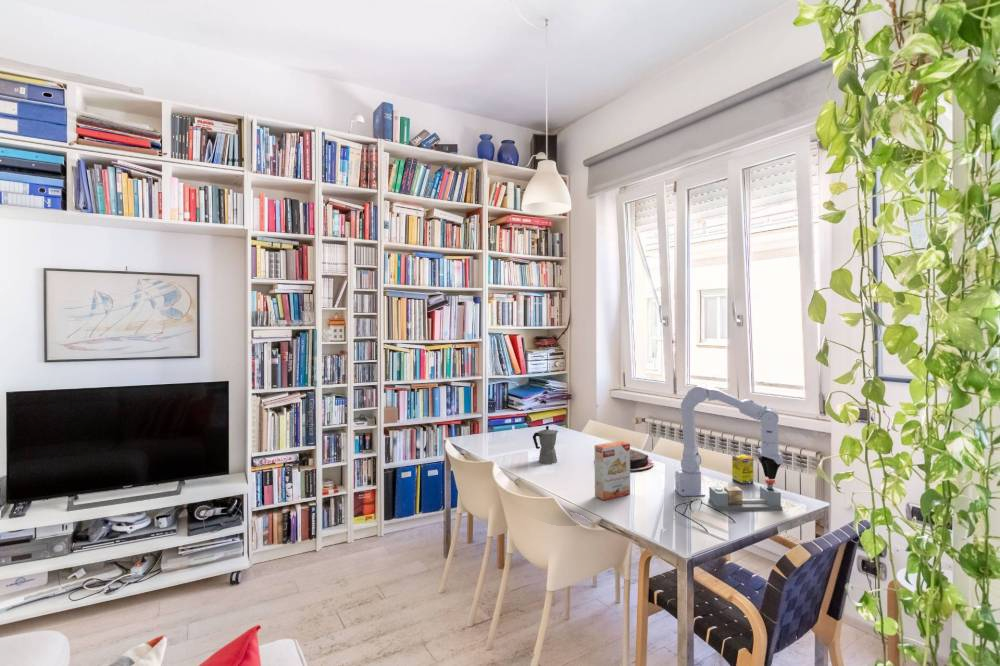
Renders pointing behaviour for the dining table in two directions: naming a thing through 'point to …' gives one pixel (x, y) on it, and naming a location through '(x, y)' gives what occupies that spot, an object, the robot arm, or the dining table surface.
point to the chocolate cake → (639, 461)
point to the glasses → (699, 508)
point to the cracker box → (612, 470)
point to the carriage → (734, 495)
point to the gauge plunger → (770, 484)
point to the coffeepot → (546, 445)
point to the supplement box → (742, 469)
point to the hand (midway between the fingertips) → (769, 477)
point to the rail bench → (746, 500)
